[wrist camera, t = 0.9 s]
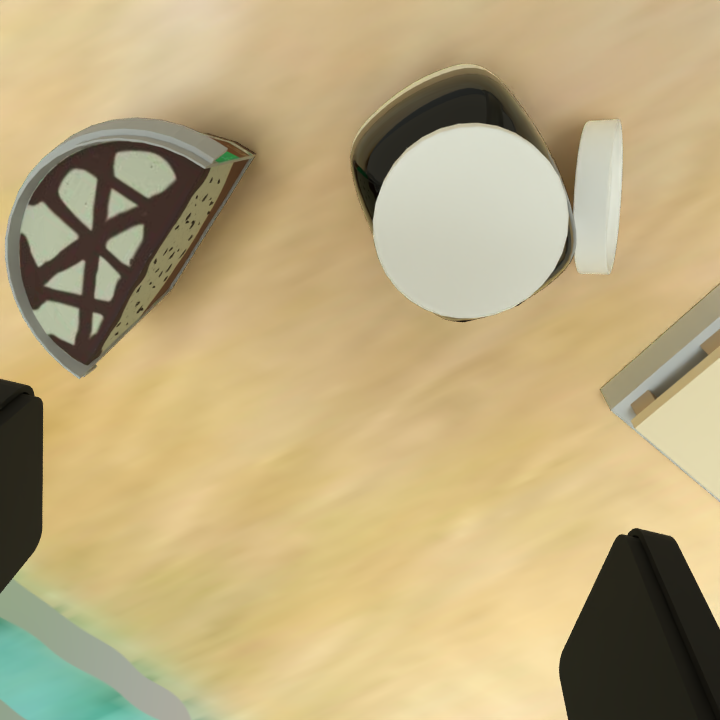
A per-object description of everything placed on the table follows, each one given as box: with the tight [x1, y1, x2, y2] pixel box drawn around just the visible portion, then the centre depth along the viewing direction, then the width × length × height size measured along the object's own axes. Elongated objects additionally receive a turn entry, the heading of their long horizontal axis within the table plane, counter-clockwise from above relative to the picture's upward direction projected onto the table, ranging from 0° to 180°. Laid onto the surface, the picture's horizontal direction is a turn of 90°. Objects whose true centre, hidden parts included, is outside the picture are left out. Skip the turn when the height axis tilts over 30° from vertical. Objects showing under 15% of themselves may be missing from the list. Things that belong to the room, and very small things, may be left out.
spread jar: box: [350, 64, 623, 322], centre depth 29 cm, size 12×11×12 cm
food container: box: [5, 118, 256, 379], centre depth 31 cm, size 12×6×10 cm, turn 144°
